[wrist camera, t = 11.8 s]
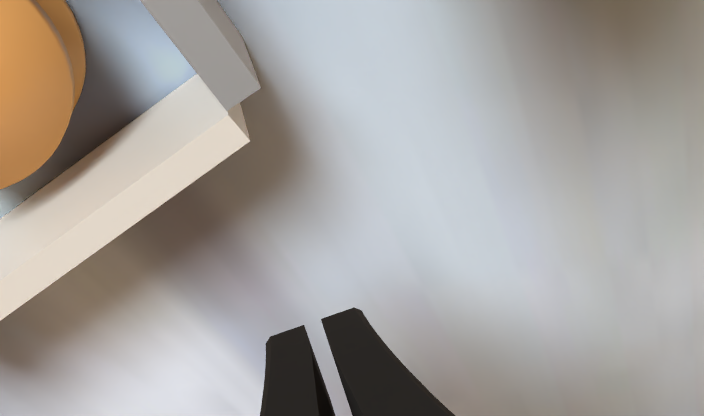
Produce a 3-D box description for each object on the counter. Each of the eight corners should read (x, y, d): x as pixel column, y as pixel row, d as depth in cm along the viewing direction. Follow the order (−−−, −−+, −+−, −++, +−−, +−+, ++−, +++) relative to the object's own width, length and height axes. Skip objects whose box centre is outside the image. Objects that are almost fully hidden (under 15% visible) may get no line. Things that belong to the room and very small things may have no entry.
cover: (-118, 291, 16) (-199, 409, 12) (209, 48, 15) (219, 104, 11) (-77, 317, 16) (-142, 436, 13) (239, 86, 15) (257, 149, 12)
